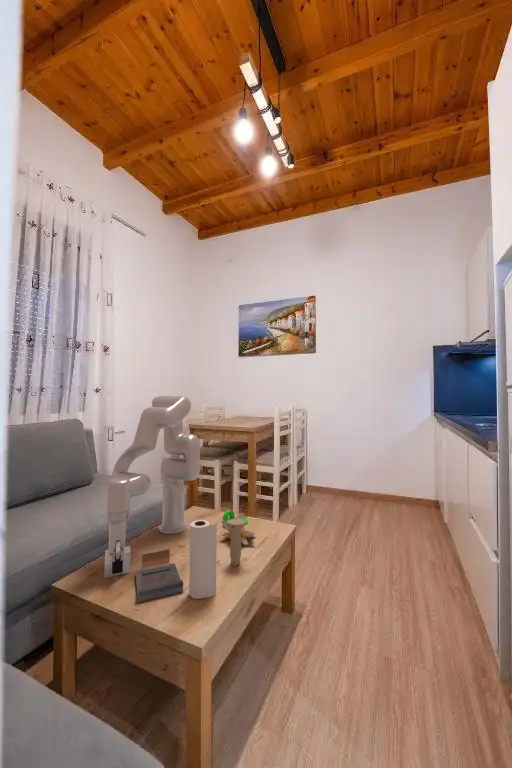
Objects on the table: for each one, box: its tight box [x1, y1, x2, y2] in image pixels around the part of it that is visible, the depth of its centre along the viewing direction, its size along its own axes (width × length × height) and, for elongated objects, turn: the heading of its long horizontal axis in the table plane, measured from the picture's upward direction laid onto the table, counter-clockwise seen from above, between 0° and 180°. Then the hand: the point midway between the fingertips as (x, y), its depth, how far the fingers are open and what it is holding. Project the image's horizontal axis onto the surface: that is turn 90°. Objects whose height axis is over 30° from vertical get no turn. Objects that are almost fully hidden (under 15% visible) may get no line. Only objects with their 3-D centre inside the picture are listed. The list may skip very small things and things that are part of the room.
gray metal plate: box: [134, 562, 184, 603], centre depth 105 cm, size 16×13×3 cm
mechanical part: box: [222, 509, 249, 529], centre depth 150 cm, size 12×6×8 cm, turn 138°
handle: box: [227, 518, 245, 567], centre depth 117 cm, size 5×6×15 cm
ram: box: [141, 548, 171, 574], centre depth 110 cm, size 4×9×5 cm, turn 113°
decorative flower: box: [220, 520, 256, 545], centre depth 135 cm, size 15×11×10 cm
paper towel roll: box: [188, 519, 218, 600], centre depth 99 cm, size 7×6×21 cm
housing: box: [103, 545, 132, 579], centre depth 112 cm, size 5×8×8 cm, turn 113°
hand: (117, 565), depth 111 cm, fingers open, 9 cm apart
